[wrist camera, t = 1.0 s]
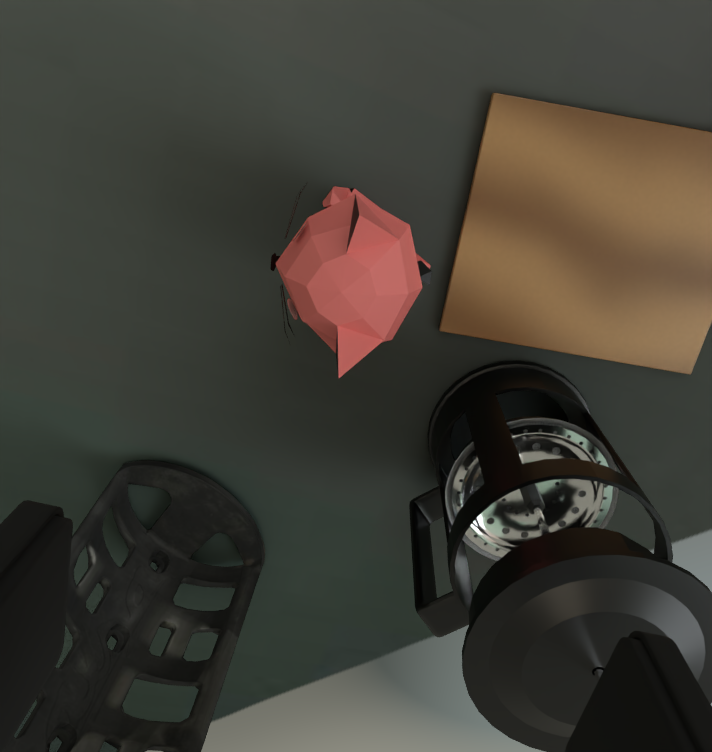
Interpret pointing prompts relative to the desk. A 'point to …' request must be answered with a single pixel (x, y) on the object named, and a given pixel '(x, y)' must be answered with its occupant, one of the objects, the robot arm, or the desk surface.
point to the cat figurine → (351, 274)
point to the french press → (543, 557)
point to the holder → (145, 617)
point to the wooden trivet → (586, 236)
